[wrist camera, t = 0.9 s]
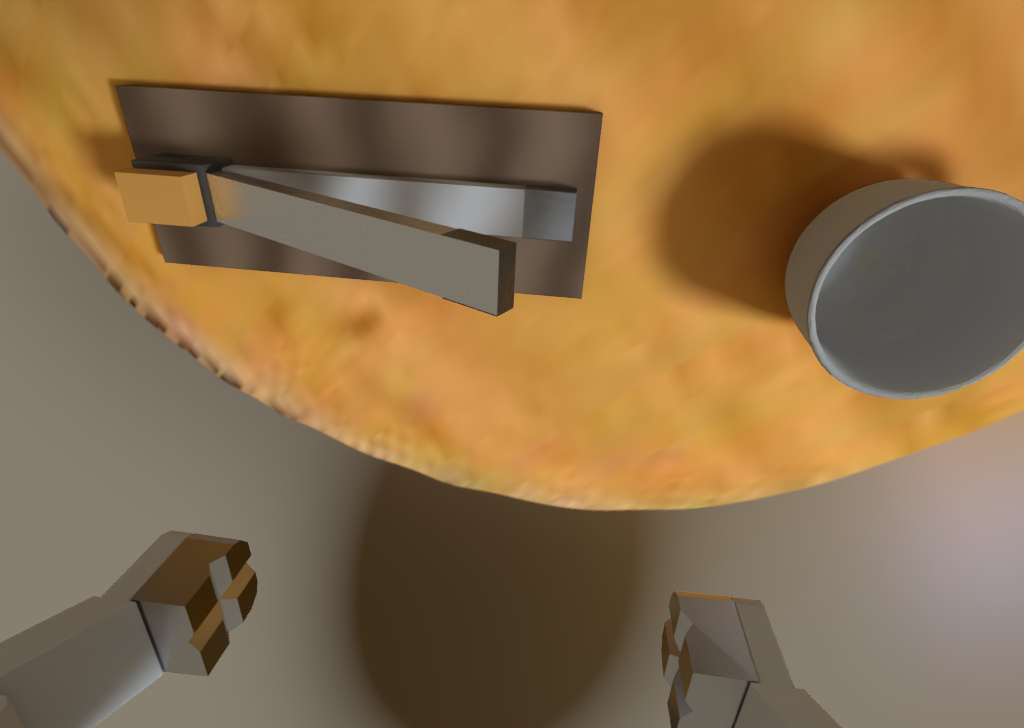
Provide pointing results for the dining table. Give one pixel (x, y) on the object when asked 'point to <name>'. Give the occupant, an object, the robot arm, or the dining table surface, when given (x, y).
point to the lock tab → (161, 196)
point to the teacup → (911, 286)
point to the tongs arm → (373, 240)
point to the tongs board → (379, 172)
